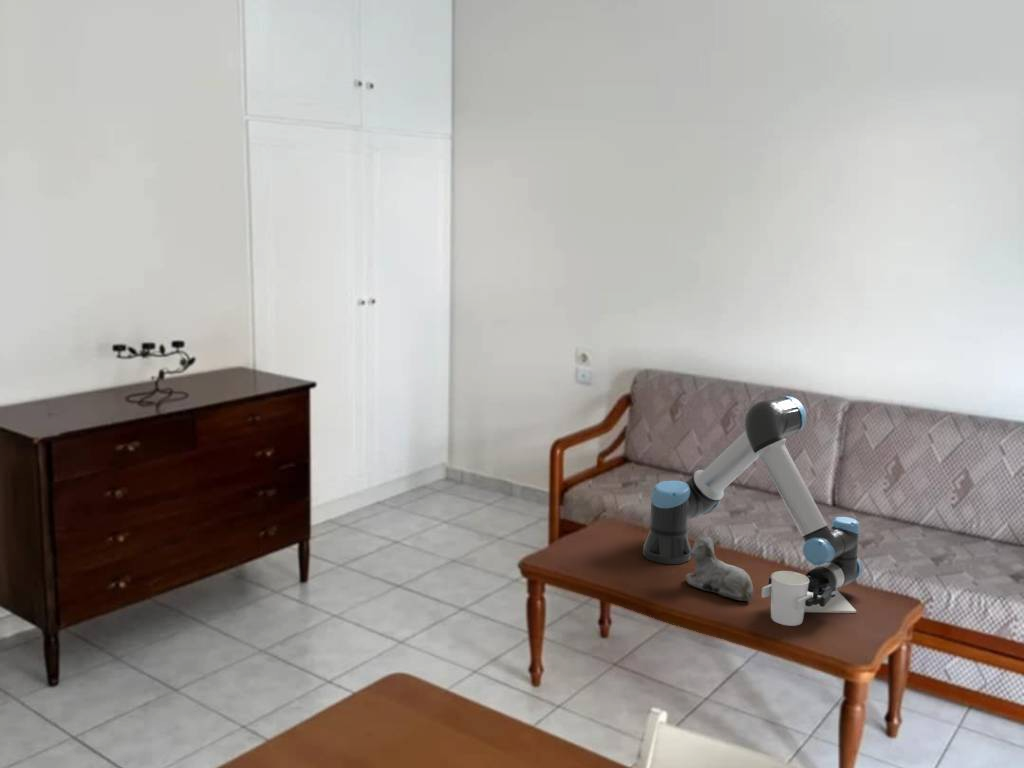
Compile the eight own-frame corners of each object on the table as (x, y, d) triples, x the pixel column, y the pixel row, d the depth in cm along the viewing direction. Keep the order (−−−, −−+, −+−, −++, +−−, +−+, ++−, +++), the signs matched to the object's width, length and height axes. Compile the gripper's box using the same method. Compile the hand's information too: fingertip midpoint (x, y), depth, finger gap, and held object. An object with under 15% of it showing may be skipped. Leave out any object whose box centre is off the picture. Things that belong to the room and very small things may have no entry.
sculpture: (689, 578, 280) (692, 530, 278) (759, 593, 271) (763, 543, 268) (677, 590, 271) (680, 541, 268) (749, 606, 261) (754, 555, 259)
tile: (781, 588, 274) (781, 586, 274) (835, 589, 275) (835, 588, 274) (799, 611, 258) (799, 609, 258) (856, 613, 259) (856, 610, 259)
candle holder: (768, 609, 259) (771, 568, 257) (805, 614, 257) (809, 573, 254) (767, 624, 250) (770, 581, 248) (805, 629, 247) (809, 586, 245)
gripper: (860, 604, 256) (816, 626, 242) (788, 579, 273) (743, 598, 258) (862, 579, 255) (818, 599, 240) (790, 555, 271) (745, 572, 257)
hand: (779, 599), depth 249 cm, fingers open, 10 cm apart
